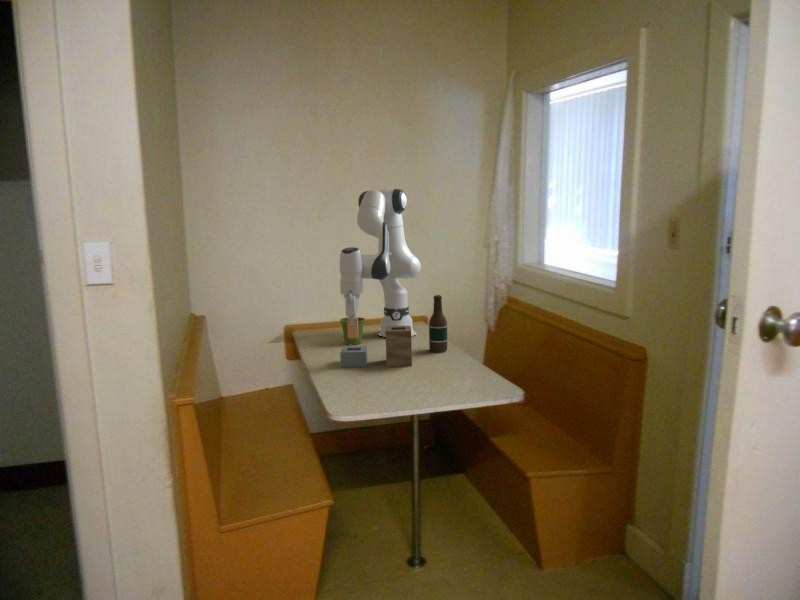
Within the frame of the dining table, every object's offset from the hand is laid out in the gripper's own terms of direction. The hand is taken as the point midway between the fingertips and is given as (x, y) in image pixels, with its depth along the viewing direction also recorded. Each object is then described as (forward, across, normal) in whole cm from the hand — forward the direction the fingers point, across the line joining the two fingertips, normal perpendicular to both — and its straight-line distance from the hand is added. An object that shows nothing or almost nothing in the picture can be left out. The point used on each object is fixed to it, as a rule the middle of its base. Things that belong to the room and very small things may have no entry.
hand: (352, 323), depth 238 cm
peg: (+6, 0, 0) cm, 6 cm away
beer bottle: (+16, +18, -35) cm, 43 cm away
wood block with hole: (+16, 0, -18) cm, 24 cm away
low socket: (+16, 0, 0) cm, 16 cm away
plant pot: (+16, +35, +3) cm, 39 cm away
